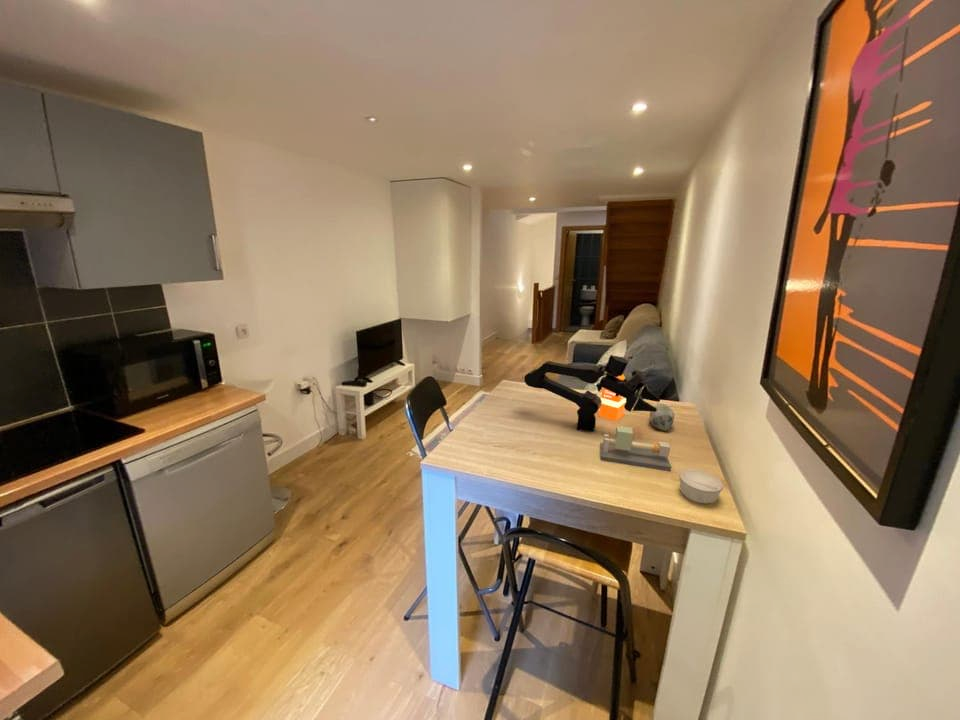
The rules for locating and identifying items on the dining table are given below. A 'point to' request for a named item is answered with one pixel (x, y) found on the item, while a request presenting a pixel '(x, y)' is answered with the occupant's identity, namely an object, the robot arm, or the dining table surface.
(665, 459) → the cord board
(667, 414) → the grey rounded oval lump
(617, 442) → the matte sage green cube
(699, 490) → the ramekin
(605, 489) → the dining table surface
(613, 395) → the orange juice
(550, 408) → the dining table surface
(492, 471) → the dining table surface
